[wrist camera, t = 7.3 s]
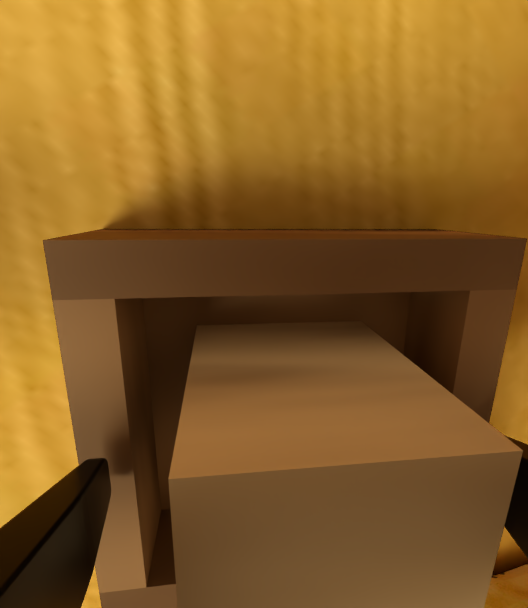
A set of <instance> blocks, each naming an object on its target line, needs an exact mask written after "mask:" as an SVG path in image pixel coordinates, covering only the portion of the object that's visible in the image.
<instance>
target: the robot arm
mask: <svg viewBox="0 0 528 608" xmlns="http://www.w3.org/2000/svg"><path fill="white" fill-rule="evenodd" d="M504 436H505V435H504ZM505 437H507V436H505ZM507 438H508V439H509V440H510V441H512V442H513V443H514V444H515V445H517V446H518V447H519V448H520V449H522V450H523V453H522V457H521V461H520V465H519V469H518V473H517V477H516V481H515V485H514V489H513V493H512V497H511V501H510V505H509V509H508V513H507V517H506V521H505V525H504V526H505V528H506V529H507V531H508V532H509V533H510V535H511V536H512V538H513V539H514V540H515V542H516V543H517V545H518V546H519V547H520V549H521V550H522V551H523V553H524V554H525V555H526V557H527V558H528V445H527V444H524V443H522V442H520V441H517V440H515V439H512V438H510V437H507ZM110 498H111V482H110V474H109V467H108V462H107V459H105V458H93V459H87V460H85V461H84V462H83V463H81V464H80V465H79V466H78V467H76V468H75V469H74V470H73V471H71V472H70V473H69V474H68V475H66V476H65V477H64V478H63V479H61V480H60V481H59V482H58V483H56V484H55V485H54V486H53V487H51V488H50V489H49V490H48V491H46V492H45V493H44V494H42V495H41V496H40V497H39V498H37V499H36V500H35V501H34V502H32V503H31V504H30V505H29V506H27V507H26V508H25V509H24V510H22V511H21V512H20V513H19V514H17V515H16V516H15V517H14V518H12V519H11V520H10V521H9V522H7V523H6V524H5V525H4V526H2V527H1V528H0V608H81V606H82V603H83V600H84V597H85V594H86V591H87V588H88V585H89V582H90V579H91V576H92V573H93V569H94V565H95V561H96V557H97V553H98V549H99V545H100V540H101V536H102V532H103V528H104V524H105V519H106V515H107V511H108V507H109V502H110Z"/></svg>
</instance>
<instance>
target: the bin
mask: <svg viewBox="0 0 528 608" xmlns="http://www.w3.org/2000/svg"><path fill="white" fill-rule="evenodd" d="M526 242H527V239H526V238H516V237H506V236H496V235H486V234H476V233H466V232H456V231H446V230H437V229H101V230H95V231H90V232H84V233H79V234H74V235H68V236H63V237H58V238H52V239H47V240H43V244H44V251H45V257H46V263H47V269H48V276H49V282H50V288H51V294H52V300H53V307H54V313H55V319H56V325H57V332H58V338H59V344H60V350H61V357H62V363H63V369H64V375H65V381H66V388H67V394H68V400H69V406H70V413H71V419H72V425H73V431H74V438H75V444H76V450H77V456H78V463H79V465H80V464H81V463H83V462H84V461H85V460H87V459H93V458H105V459H107V462H108V467H109V474H110V482H111V498H110V502H109V507H108V511H107V515H106V519H105V524H104V528H103V532H102V536H101V540H100V545H99V549H98V553H97V557H96V561H95V568H96V575H97V581H98V587H99V593H100V600H101V606H102V608H178V606H177V592H176V578H175V564H174V550H173V536H172V522H171V509H170V495H169V481H168V478H169V473H170V468H171V462H172V457H173V452H174V446H175V441H176V435H177V430H178V425H179V419H180V414H181V409H182V403H183V398H184V392H185V387H186V382H187V376H188V371H189V365H190V360H191V355H192V349H193V344H194V339H195V333H196V328H197V325H233V324H269V323H306V322H343V321H361V322H363V323H364V324H365V325H366V326H368V327H369V328H370V329H371V330H373V331H374V332H375V333H376V334H378V335H379V336H380V337H381V338H383V339H384V340H385V341H386V342H388V343H389V344H390V345H391V346H393V347H394V348H395V349H396V350H398V351H399V352H400V353H401V354H403V355H404V356H405V357H407V358H408V359H409V360H410V361H412V362H413V363H414V364H415V365H417V366H418V367H419V368H420V369H422V370H423V371H424V372H425V373H427V374H428V375H429V376H430V377H432V378H433V379H434V380H435V381H437V382H438V383H439V384H440V385H442V386H443V387H444V388H445V389H447V390H448V391H449V392H450V393H452V394H453V395H454V396H455V397H457V398H458V399H459V400H460V401H462V402H463V403H464V404H465V405H467V406H468V407H469V408H470V409H472V410H473V411H474V412H475V413H477V414H478V415H479V416H480V417H482V418H483V419H484V420H485V421H487V422H488V423H489V420H490V415H491V411H492V406H493V401H494V396H495V391H496V386H497V382H498V377H499V372H500V367H501V362H502V357H503V353H504V348H505V343H506V338H507V333H508V329H509V324H510V319H511V314H512V309H513V304H514V300H515V295H516V290H517V285H518V280H519V275H520V271H521V266H522V261H523V256H524V251H525V246H526Z"/></svg>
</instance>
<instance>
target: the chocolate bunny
mask: <svg viewBox="0 0 528 608" xmlns="http://www.w3.org/2000/svg"><path fill="white" fill-rule="evenodd" d="M484 608H528V564H526V565H524V566H521V567H518V568H515V569H512V570H509V571H507V572H504V573H501V574H498V575H495V576H492V577H491V581H490V585H489V589H488V593H487V597H486V601H485V605H484Z"/></svg>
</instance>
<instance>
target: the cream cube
mask: <svg viewBox="0 0 528 608" xmlns="http://www.w3.org/2000/svg"><path fill="white" fill-rule="evenodd" d="M522 453H523V450H522V449H520V448H519V447H518V446H517V445H515V444H514V443H513V442H512V441H510V440H509V439H508V438H507V437H505V436H504V435H503V434H502V433H500V432H499V431H498V430H497V429H495V428H494V427H493V426H492V425H490V424H489V423H488V422H487V421H485V420H484V419H483V418H482V417H480V416H479V415H478V414H477V413H475V412H474V411H473V410H472V409H470V408H469V407H468V406H467V405H465V404H464V403H463V402H462V401H460V400H459V399H458V398H457V397H455V396H454V395H453V394H452V393H450V392H449V391H448V390H447V389H445V388H444V387H443V386H442V385H440V384H439V383H438V382H437V381H435V380H434V379H433V378H432V377H430V376H429V375H428V374H427V373H425V372H424V371H423V370H422V369H420V368H419V367H418V366H417V365H415V364H414V363H413V362H412V361H410V360H409V359H408V358H407V357H405V356H404V355H403V354H401V353H400V352H399V351H398V350H396V349H395V348H394V347H393V346H391V345H390V344H389V343H388V342H386V341H385V340H384V339H383V338H381V337H380V336H379V335H378V334H376V333H375V332H374V331H373V330H371V329H370V328H369V327H368V326H366V325H365V324H364V323H363V322H361V321H343V322H306V323H269V324H233V325H197V328H196V333H195V339H194V344H193V349H192V355H191V360H190V365H189V371H188V376H187V382H186V387H185V392H184V398H183V403H182V409H181V414H180V419H179V425H178V430H177V435H176V441H175V446H174V452H173V457H172V462H171V468H170V473H169V478H168V481H169V495H170V509H171V522H172V536H173V550H174V564H175V578H176V592H177V606H178V608H484V605H485V601H486V597H487V593H488V589H489V585H490V581H491V577H492V573H493V569H494V565H495V561H496V557H497V553H498V549H499V545H500V541H501V537H502V533H503V529H504V525H505V521H506V517H507V513H508V509H509V505H510V501H511V497H512V493H513V489H514V485H515V481H516V477H517V473H518V469H519V465H520V461H521V457H522Z"/></svg>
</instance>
